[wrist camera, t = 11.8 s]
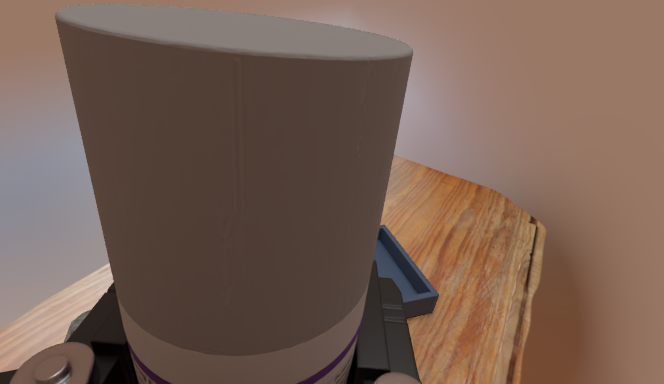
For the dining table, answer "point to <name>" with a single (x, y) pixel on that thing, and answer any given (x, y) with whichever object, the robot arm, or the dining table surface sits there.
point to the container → (236, 183)
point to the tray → (404, 275)
